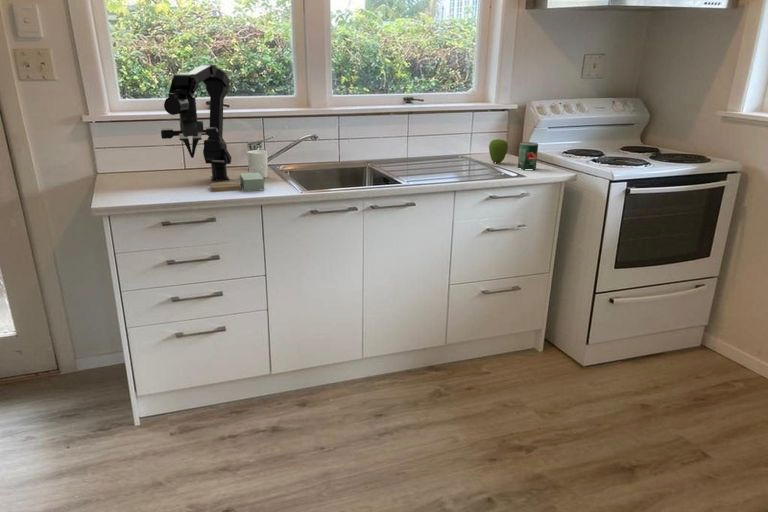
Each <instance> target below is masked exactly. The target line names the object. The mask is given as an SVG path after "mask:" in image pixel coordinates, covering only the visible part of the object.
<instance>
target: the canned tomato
mask: <svg viewBox="0 0 768 512" xmlns="http://www.w3.org/2000/svg"><path fill="white" fill-rule="evenodd" d="M538 149H539V143H538V142H532V141H529V142H526V141H522V142H519V148H518V161H517V169H518V168H521V169H536V170H537V162H538V161H537V159H538V151H539V150H538Z"/></svg>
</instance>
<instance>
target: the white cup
mask: <svg viewBox="0 0 768 512" xmlns="http://www.w3.org/2000/svg"><path fill="white" fill-rule="evenodd" d="M246 155H247V163H248V172H249V173H259V174H260V175H261V176H262V177H263V179H265V178H267V177H268V169H269V168H268V166H269V165H268V159H269V158H268V157H269V156H268V151H267V150H264V149H263V150H262V149H257V150H256V149H253V150H248V151H246ZM264 177H265V178H264Z"/></svg>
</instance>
